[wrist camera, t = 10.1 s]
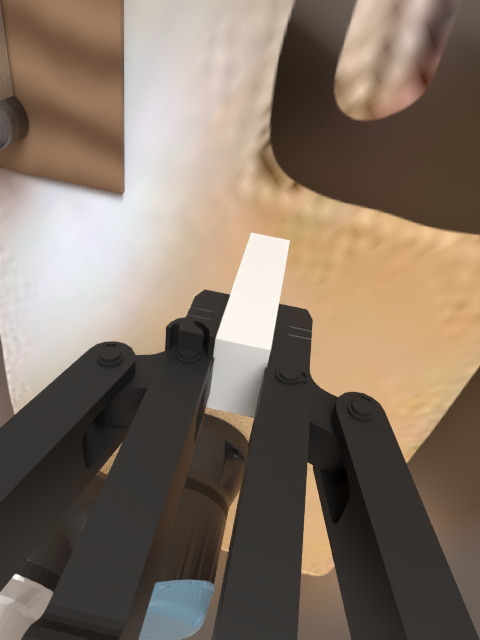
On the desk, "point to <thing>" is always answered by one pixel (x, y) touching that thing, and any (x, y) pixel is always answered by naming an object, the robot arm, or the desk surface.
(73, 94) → the board
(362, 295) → the desk surface
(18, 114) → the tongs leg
